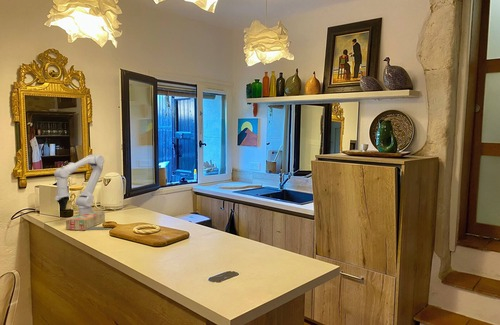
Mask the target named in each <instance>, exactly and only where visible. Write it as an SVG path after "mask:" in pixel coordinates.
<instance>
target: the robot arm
mask: <svg viewBox="0 0 500 325" xmlns="http://www.w3.org/2000/svg"><path fill="white" fill-rule="evenodd" d="M104 163H105V158H104V156H103V155H102V154H89V155H86V156H85V157H84V158H82V159H80V160H78V161H76V162H68V164H67V165H63V166H61V167H60V168H59V167H58V168H56V170H55V171H54V172H53V174H54V177H55V180H56V192H57V194H56V196H55V197H54V201H56V202H57V203H58V205H59V208H60V211H66V209H67V205H68V202H69V200H70V198H69V197H70V196H71V193H70V192H69V190H68V177H69V176H70V175H71V174H73V173H75V172H77V171H78V169H79V168H80V167H83V166H85V165H87V164H89V166H90V167H91V168H92V172H91V175H90V176H89V178H88V181H87V183H86V186H85V188H84V190H83V191H82V192H81V193H80V194H79V196H78V197H77V198H76V199H75V204H76V206H77V207H78V215H85V214H87V213H91V212H94V210H93V208H92V206H93V204H94V199H95V197H94V195H93V193H94V191H95V189H96V186H97V184H98V182H99V180H100V177H101V175H102V173H103V167H104Z"/></svg>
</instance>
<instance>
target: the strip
mask: <svg viewBox="0 0 500 325" xmlns="http://www.w3.org/2000/svg"><path fill="white" fill-rule="evenodd" d="M103 227H104V226H93V227H90V228H88V229H86V230H76V232H77V231H78V232H79V231H109V230H110V229H112V228H103ZM112 230H113V229H112ZM110 231H111V230H110Z"/></svg>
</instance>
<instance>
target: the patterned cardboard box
mask: <svg viewBox="0 0 500 325" xmlns="http://www.w3.org/2000/svg"><path fill="white" fill-rule="evenodd" d="M105 216H106V213H105V211H93V212H91V213H87V214H85V215H79V214H78V215H73V216H71V217H68V218H65V229H66V230H71V231H72V230H74V231H77V230H85V231H87V230H86V229H88V228H90V227H96V226H97V225H100V224H102V223H105V222H106V217H105Z"/></svg>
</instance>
